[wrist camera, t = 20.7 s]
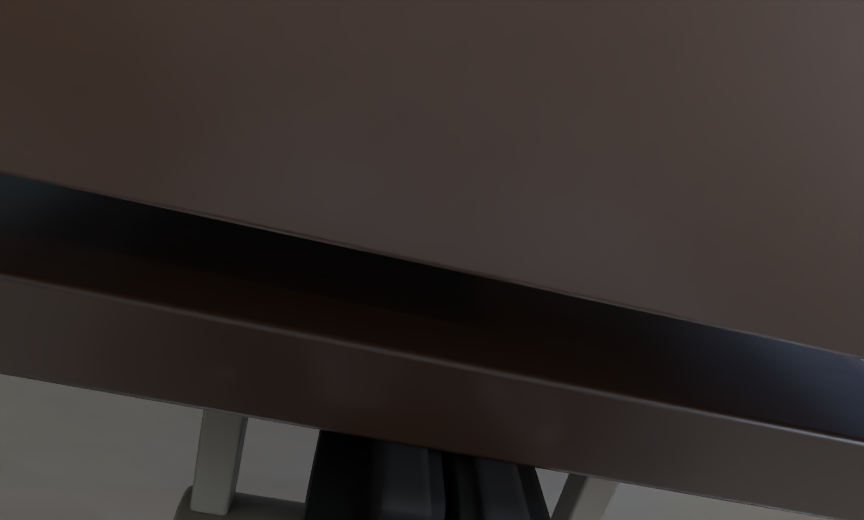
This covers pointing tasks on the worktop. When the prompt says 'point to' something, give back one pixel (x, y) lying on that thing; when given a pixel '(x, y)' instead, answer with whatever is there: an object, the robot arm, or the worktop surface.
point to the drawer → (412, 361)
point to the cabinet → (482, 138)
